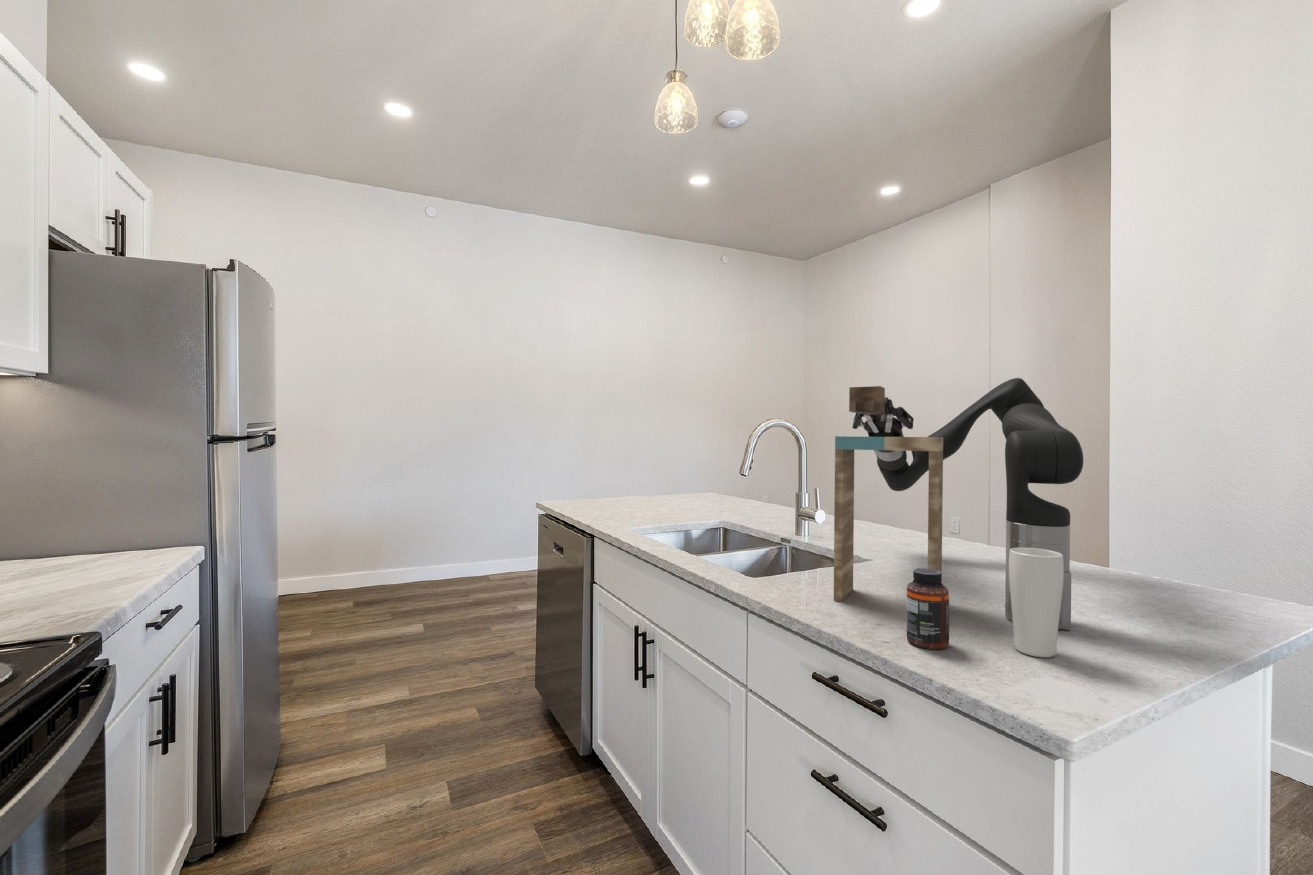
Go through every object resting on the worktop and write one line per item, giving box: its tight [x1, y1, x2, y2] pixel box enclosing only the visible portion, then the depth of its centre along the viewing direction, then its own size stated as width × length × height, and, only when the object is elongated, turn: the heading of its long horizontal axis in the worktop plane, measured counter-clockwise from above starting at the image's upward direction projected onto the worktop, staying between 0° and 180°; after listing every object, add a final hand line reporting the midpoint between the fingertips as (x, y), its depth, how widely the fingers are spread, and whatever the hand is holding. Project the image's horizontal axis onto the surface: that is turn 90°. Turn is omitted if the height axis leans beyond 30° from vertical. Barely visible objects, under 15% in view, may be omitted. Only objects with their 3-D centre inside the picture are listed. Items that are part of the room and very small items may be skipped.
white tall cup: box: [1009, 548, 1064, 659], centre depth 83 cm, size 7×7×15 cm
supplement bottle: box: [906, 567, 950, 650], centre depth 86 cm, size 6×6×11 cm
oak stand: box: [833, 435, 944, 602], centre depth 108 cm, size 18×10×32 cm, turn 58°
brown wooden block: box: [848, 385, 887, 415], centre depth 120 cm, size 6×18×5 cm, turn 148°
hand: (875, 400), depth 123 cm, fingers closed on brown wooden block, 3 cm apart
